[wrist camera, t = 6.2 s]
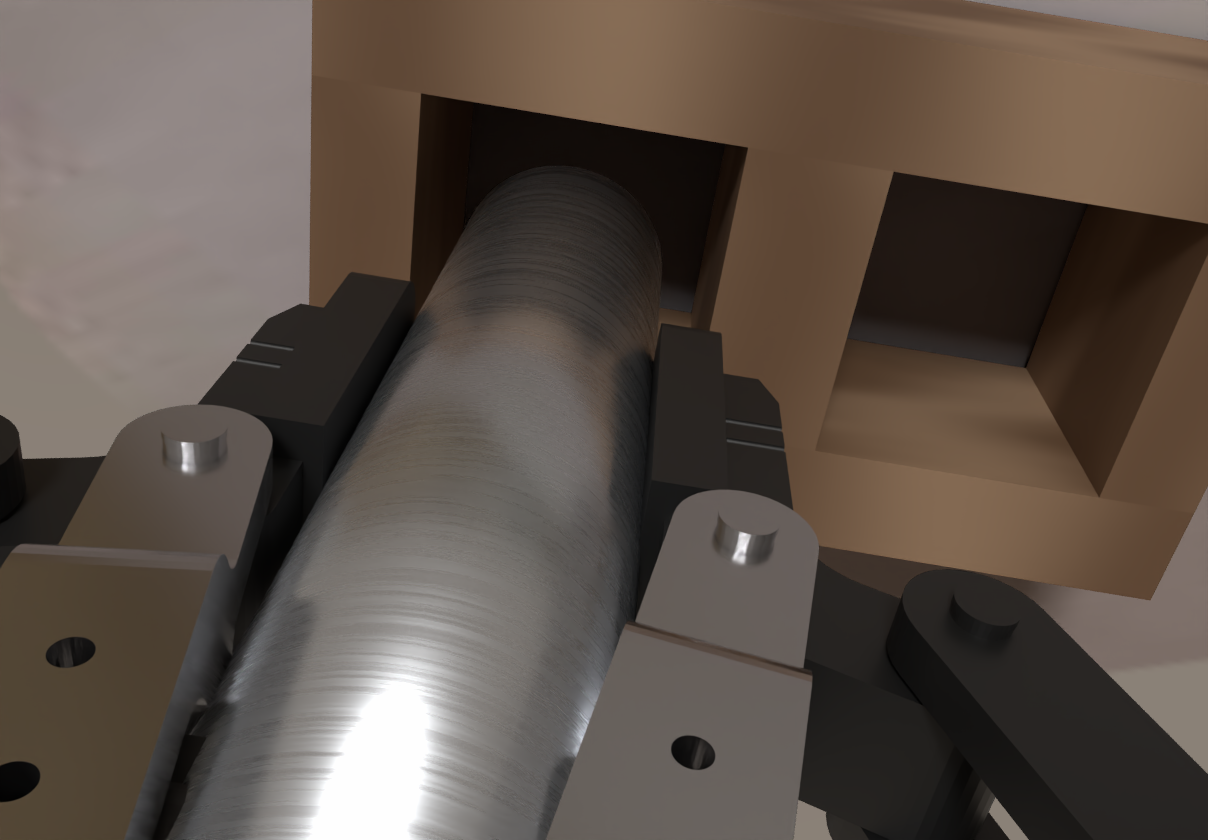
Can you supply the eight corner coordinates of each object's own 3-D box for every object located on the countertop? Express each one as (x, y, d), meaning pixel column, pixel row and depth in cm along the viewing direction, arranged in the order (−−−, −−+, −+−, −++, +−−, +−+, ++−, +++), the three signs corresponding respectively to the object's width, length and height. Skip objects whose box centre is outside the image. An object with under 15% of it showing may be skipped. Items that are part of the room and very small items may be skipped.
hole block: (1244, 46, 18) (1393, 116, 14) (1071, 457, 22) (1150, 600, 18) (398, -94, 18) (313, -64, 14) (378, 343, 22) (307, 460, 18)
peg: (678, 183, 16) (639, 946, 5) (645, 369, 17) (561, 1249, 7) (470, 149, 16) (18, 845, 5) (455, 338, 17) (78, 1173, 7)
